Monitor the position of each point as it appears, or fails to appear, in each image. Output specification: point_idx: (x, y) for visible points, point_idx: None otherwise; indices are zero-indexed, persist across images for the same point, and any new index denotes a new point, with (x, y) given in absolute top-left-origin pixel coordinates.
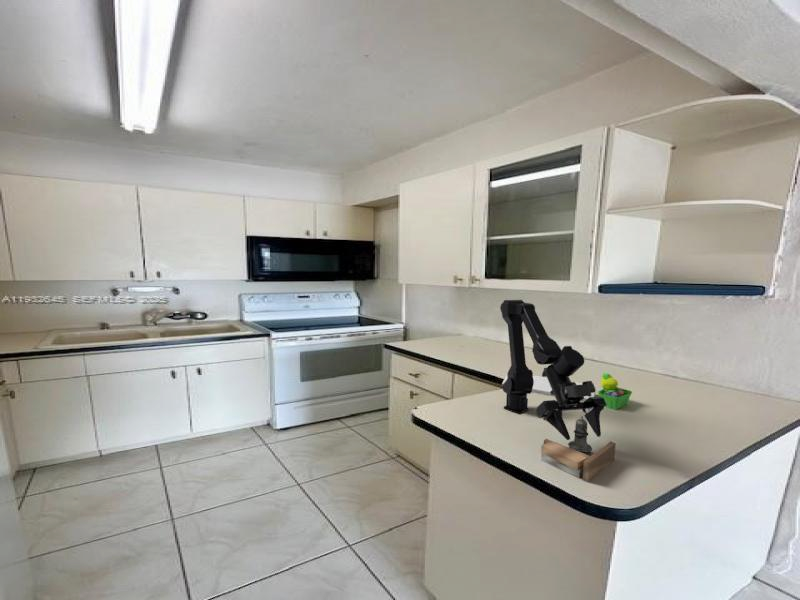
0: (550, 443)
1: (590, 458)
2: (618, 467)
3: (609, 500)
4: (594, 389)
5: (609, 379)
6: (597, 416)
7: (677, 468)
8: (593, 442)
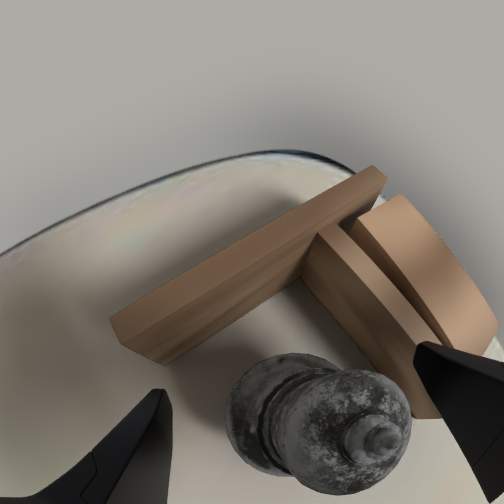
0: (474, 349)
1: (355, 189)
2: None
3: (306, 177)
4: None
5: None
6: (70, 495)
7: (3, 289)
8: None
